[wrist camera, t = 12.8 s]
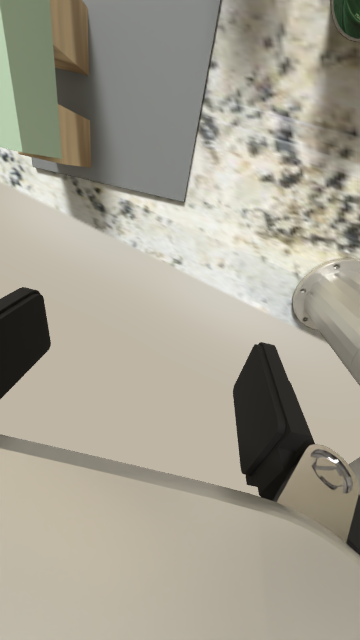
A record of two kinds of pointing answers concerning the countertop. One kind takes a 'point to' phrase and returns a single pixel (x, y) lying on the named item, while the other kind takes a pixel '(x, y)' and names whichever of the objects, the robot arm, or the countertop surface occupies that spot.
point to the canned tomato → (347, 18)
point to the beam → (28, 79)
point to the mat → (141, 92)
